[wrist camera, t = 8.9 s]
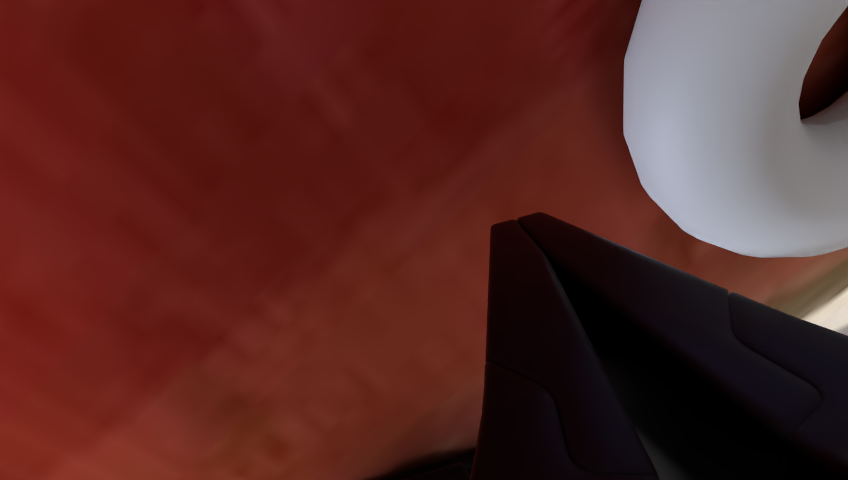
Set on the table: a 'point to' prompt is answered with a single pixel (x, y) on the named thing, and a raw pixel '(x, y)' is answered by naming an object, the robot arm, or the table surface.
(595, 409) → the robot arm
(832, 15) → the donut
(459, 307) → the table surface
